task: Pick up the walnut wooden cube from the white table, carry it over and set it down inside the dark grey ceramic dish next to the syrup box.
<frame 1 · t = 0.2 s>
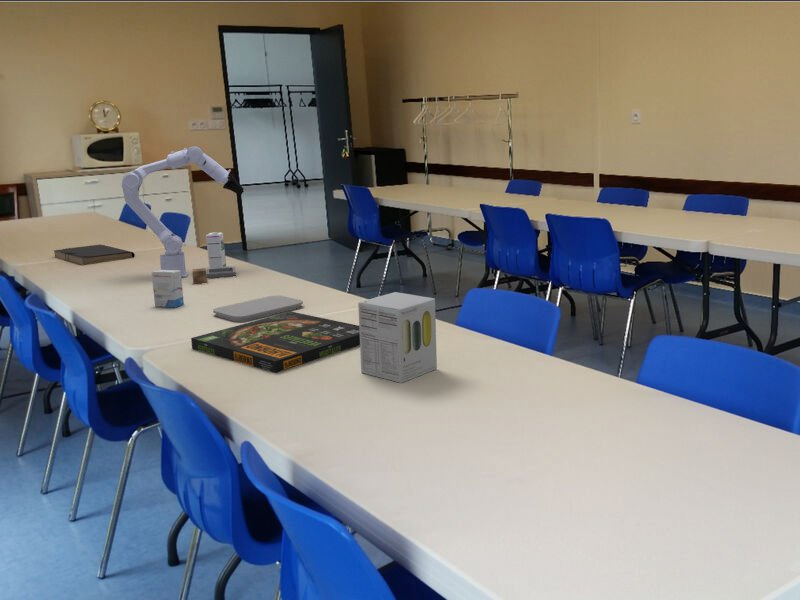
hand: (242, 192, 317), 31 cm above the table, tool tilted 45°, fingers open, 7 cm apart
file folder: (94, 259, 370), on the table
pizza box: (284, 346, 220), on the table
tablet: (259, 313, 258), on the table
ink box: (169, 306, 270), on the table
grey dish: (221, 275, 318), on the table
syrup box: (217, 268, 332), on the table
walnut cube: (200, 282, 305), on the table
supplement box: (399, 372, 194), on the table
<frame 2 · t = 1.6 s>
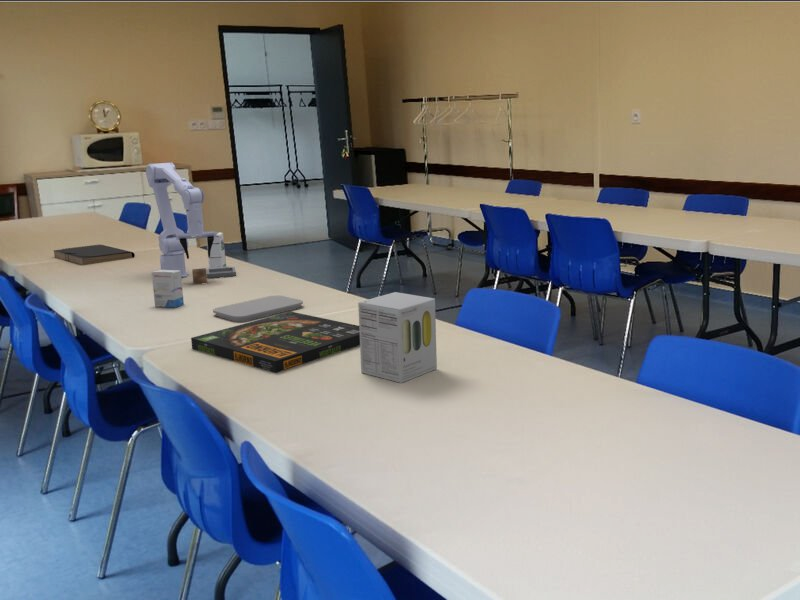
hand: (198, 257, 303), 10 cm above the table, tool pointing down, fingers open, 7 cm apart
nothing on the table moved.
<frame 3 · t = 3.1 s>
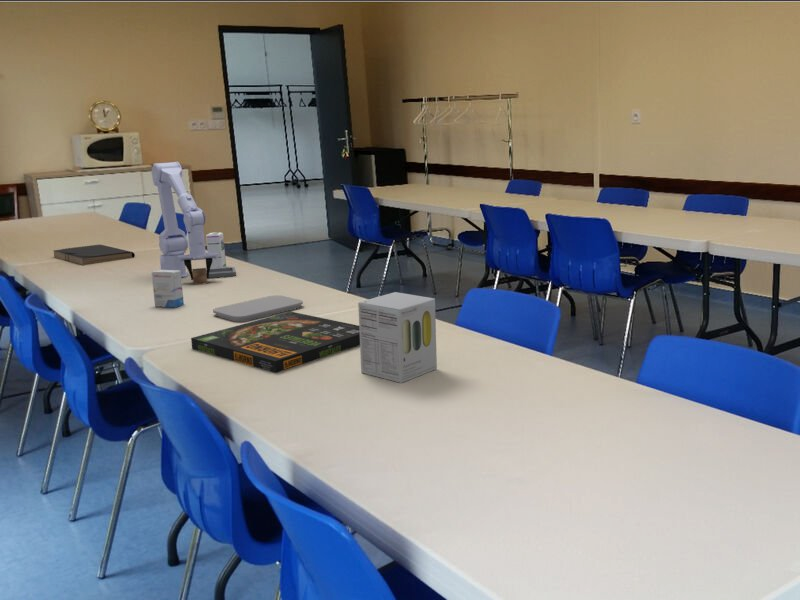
hand: (200, 278, 305), 1 cm above the table, tool pointing down, fingers closed on walnut cube, 5 cm apart
walnut cube: (200, 282, 305), on the table, touching gripper
everything else where it was.
when the fingers open (3 cm above the table, at t = 6.2 s): walnut cube stays where it is, resting on grey dish.
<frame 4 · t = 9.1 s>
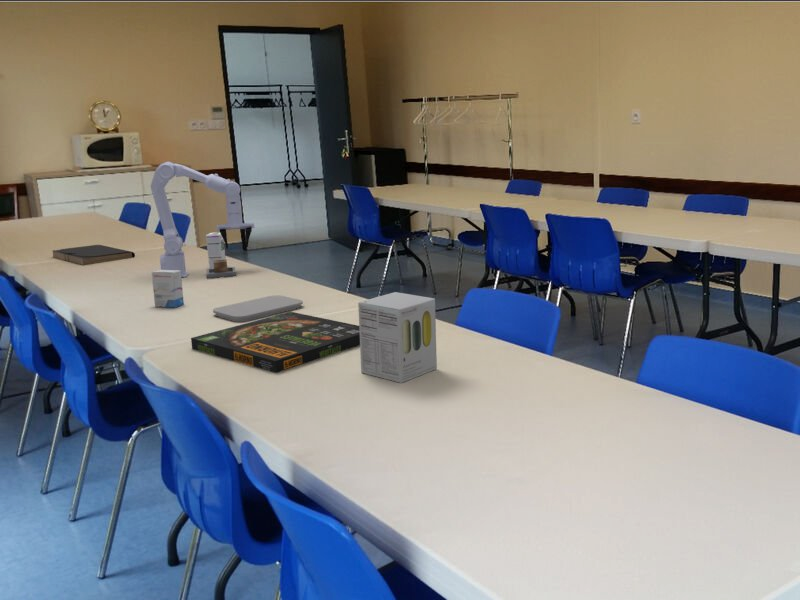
hand: (237, 247, 320), 10 cm above the table, tool pointing down, fingers open, 7 cm apart
walnut cube: (221, 273, 318), point 1 cm above the table, touching grey dish
everything else where it was.
at the end: walnut cube 0.3 cm off-centre on the grey dish, point 0.6 cm above the grey dish's base; walnut cube tilted 0°; the gripper is holding nothing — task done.
